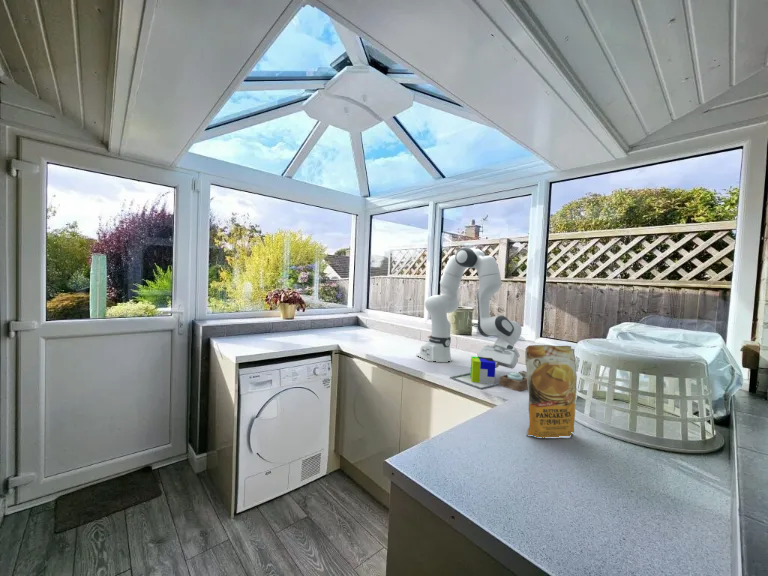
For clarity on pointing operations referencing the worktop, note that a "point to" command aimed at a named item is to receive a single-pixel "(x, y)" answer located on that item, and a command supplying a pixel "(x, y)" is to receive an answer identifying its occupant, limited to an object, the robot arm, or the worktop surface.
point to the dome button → (515, 376)
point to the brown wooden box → (515, 382)
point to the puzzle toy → (482, 370)
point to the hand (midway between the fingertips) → (489, 369)
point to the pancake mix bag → (551, 390)
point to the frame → (471, 384)
